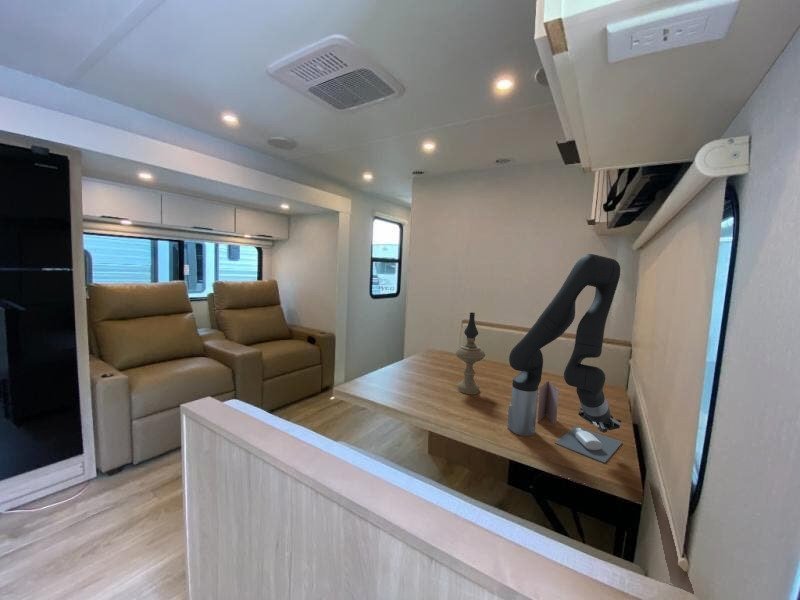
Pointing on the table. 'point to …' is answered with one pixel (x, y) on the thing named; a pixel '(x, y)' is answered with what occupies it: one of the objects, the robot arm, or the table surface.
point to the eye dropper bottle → (588, 439)
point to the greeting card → (548, 402)
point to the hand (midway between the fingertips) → (603, 429)
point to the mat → (600, 455)
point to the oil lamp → (470, 358)
